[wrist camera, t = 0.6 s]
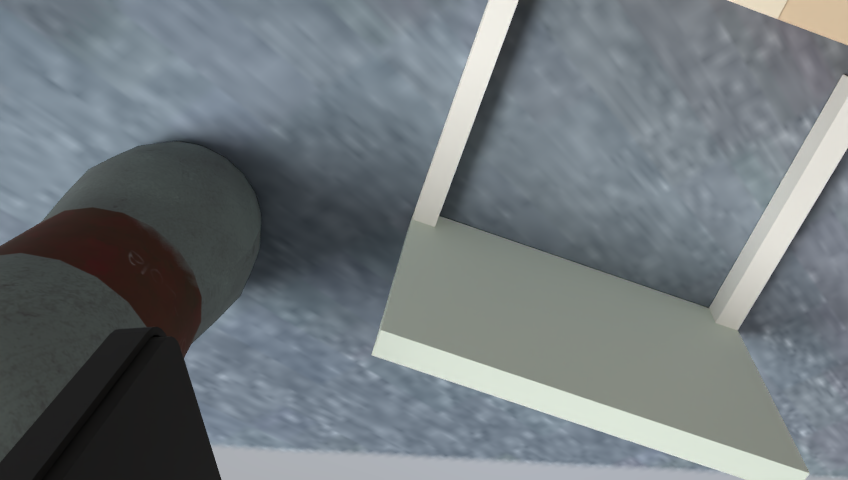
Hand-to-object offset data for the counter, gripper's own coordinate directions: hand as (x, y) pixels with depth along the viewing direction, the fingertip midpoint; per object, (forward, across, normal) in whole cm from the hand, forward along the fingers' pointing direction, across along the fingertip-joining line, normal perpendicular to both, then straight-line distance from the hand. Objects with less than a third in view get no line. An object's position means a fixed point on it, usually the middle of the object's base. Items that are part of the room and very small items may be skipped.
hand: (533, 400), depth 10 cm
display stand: (+28, -5, +7) cm, 30 cm away
